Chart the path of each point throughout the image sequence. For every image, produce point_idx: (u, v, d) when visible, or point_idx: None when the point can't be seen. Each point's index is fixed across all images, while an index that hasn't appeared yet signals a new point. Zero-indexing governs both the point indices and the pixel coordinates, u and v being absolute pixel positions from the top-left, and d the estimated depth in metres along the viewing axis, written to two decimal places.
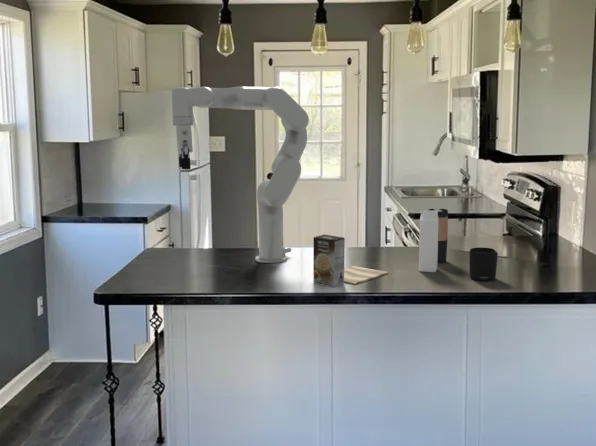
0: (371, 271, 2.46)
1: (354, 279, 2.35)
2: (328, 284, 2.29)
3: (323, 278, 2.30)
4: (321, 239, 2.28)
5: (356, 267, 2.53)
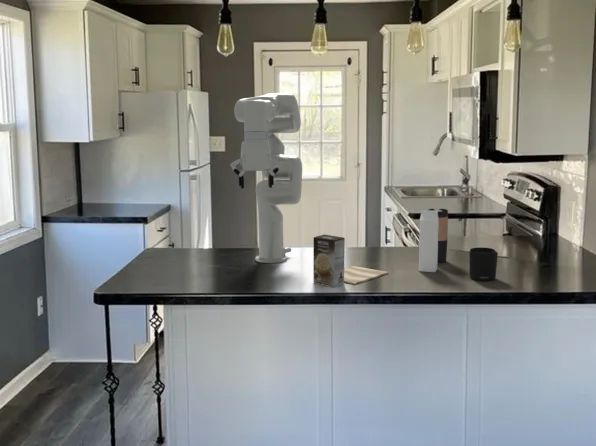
0: (371, 271, 2.46)
1: (354, 279, 2.35)
2: (328, 284, 2.29)
3: (323, 278, 2.30)
4: (321, 239, 2.28)
5: (356, 267, 2.53)
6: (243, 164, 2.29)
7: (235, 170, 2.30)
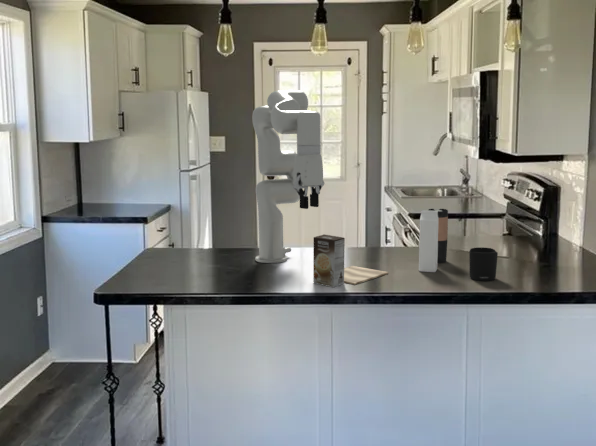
0: (371, 271, 2.46)
1: (354, 279, 2.35)
2: (328, 284, 2.29)
3: (323, 278, 2.30)
4: (321, 239, 2.28)
5: (356, 267, 2.53)
6: (304, 180, 2.14)
7: (301, 190, 2.16)
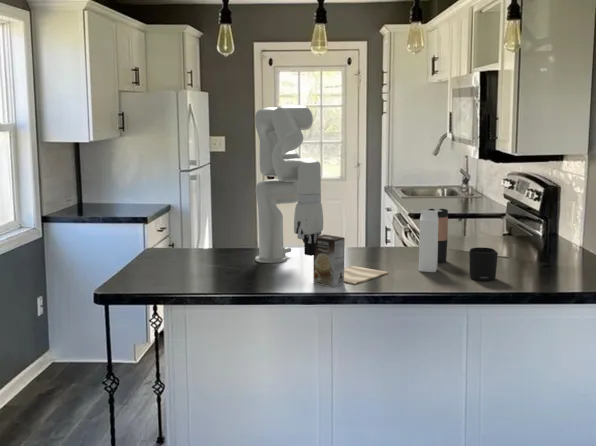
0: (371, 271, 2.46)
1: (354, 279, 2.35)
2: (328, 284, 2.29)
3: (323, 278, 2.30)
4: (321, 239, 2.28)
5: (356, 267, 2.53)
6: (304, 229, 2.17)
7: (306, 237, 2.19)
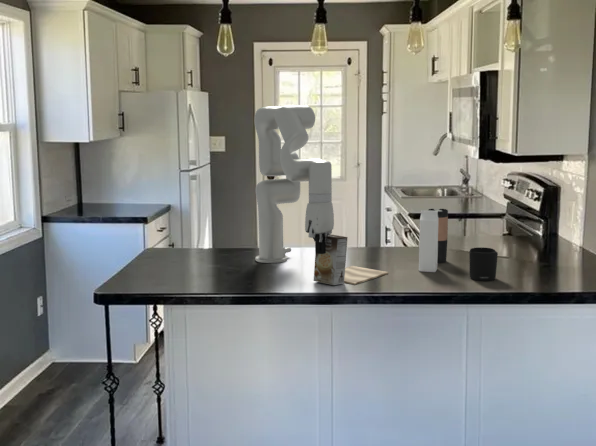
0: (371, 271, 2.46)
1: (354, 279, 2.35)
2: (328, 282, 2.29)
3: (323, 276, 2.30)
4: None
5: (356, 267, 2.53)
6: (315, 227, 2.21)
7: (317, 236, 2.24)
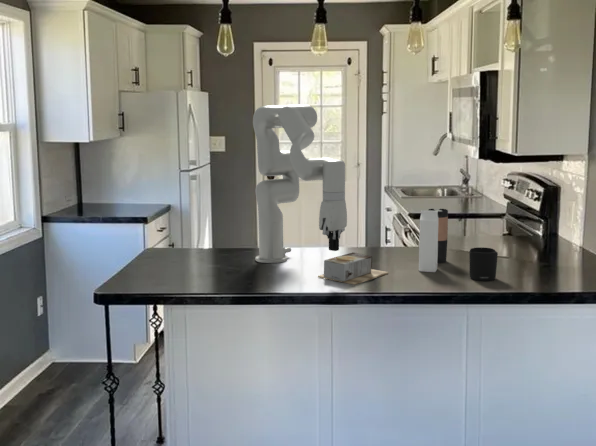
0: (371, 271, 2.46)
1: (354, 279, 2.35)
2: (340, 262, 2.33)
3: (338, 260, 2.35)
4: (359, 254, 2.46)
5: None
6: (329, 225, 2.27)
7: (330, 234, 2.29)
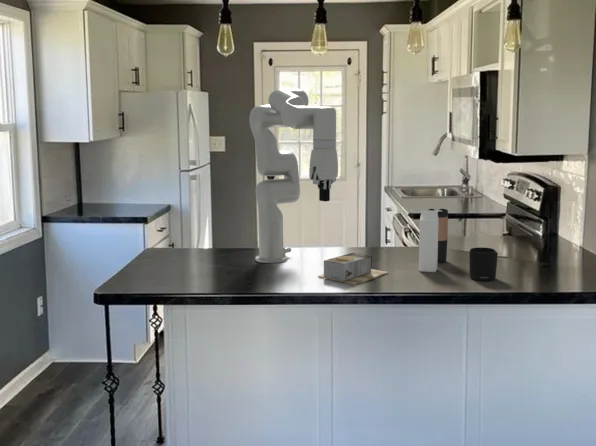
0: (371, 271, 2.46)
1: (354, 279, 2.35)
2: (339, 262, 2.33)
3: (337, 260, 2.36)
4: (359, 254, 2.46)
5: None
6: (320, 174, 2.20)
7: (321, 183, 2.23)
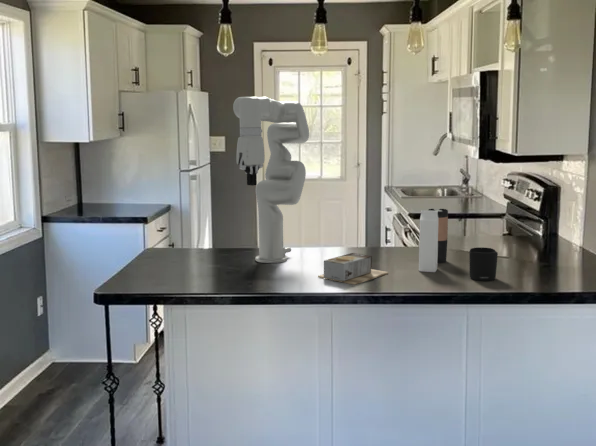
0: (371, 271, 2.46)
1: (354, 279, 2.35)
2: (339, 262, 2.33)
3: (337, 260, 2.36)
4: (359, 254, 2.46)
5: None
6: (245, 159, 2.36)
7: (247, 168, 2.39)
